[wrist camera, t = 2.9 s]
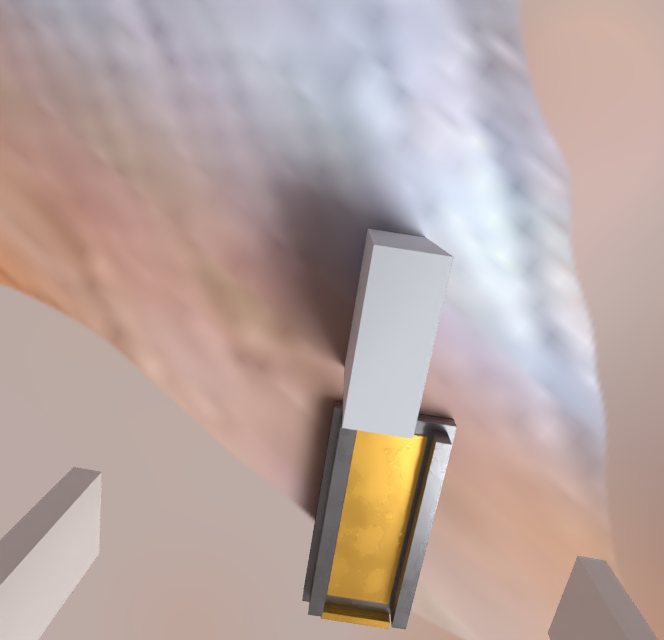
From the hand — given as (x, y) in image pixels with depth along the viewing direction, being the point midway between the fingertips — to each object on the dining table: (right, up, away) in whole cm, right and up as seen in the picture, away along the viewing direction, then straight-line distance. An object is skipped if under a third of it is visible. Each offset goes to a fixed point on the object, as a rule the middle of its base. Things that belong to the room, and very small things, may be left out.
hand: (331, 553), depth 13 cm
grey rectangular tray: (+3, -7, +20) cm, 22 cm away
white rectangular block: (+3, +7, +16) cm, 18 cm away
